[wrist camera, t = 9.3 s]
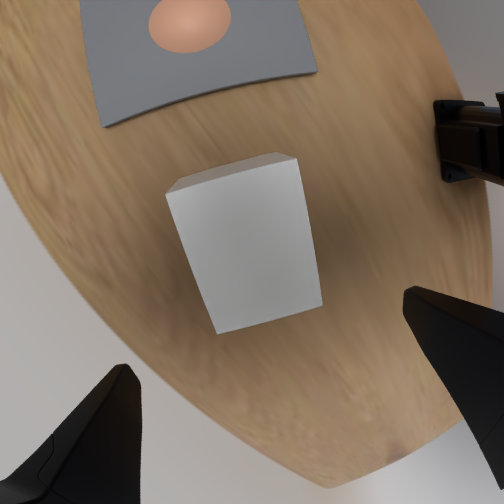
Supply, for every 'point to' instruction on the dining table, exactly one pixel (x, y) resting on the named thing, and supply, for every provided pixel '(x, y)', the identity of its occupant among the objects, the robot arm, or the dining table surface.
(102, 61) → the board
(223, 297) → the white rectangular block
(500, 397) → the robot arm
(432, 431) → the dining table surface
